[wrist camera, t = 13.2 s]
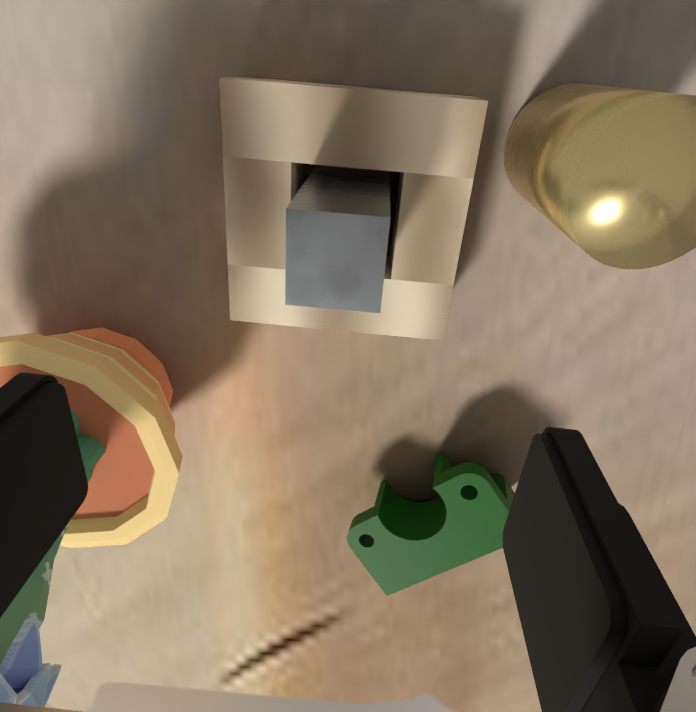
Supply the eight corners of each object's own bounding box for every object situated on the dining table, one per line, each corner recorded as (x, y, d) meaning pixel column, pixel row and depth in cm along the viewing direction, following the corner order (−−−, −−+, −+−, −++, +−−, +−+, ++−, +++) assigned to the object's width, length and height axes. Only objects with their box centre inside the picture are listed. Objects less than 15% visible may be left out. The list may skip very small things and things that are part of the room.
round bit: (641, 94, 25) (784, 111, 17) (594, 213, 28) (693, 280, 20) (525, 73, 25) (608, 79, 16) (489, 195, 28) (544, 256, 19)
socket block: (474, 96, 26) (488, 100, 22) (436, 310, 32) (442, 340, 28) (240, 76, 26) (218, 77, 22) (246, 293, 32) (230, 320, 28)
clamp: (452, 420, 41) (498, 450, 32) (491, 477, 42) (547, 521, 33) (333, 508, 41) (346, 563, 32) (375, 564, 41) (400, 633, 32)
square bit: (388, 171, 28) (390, 217, 19) (381, 242, 30) (380, 313, 21) (316, 165, 28) (285, 208, 19) (314, 236, 30) (285, 304, 21)
